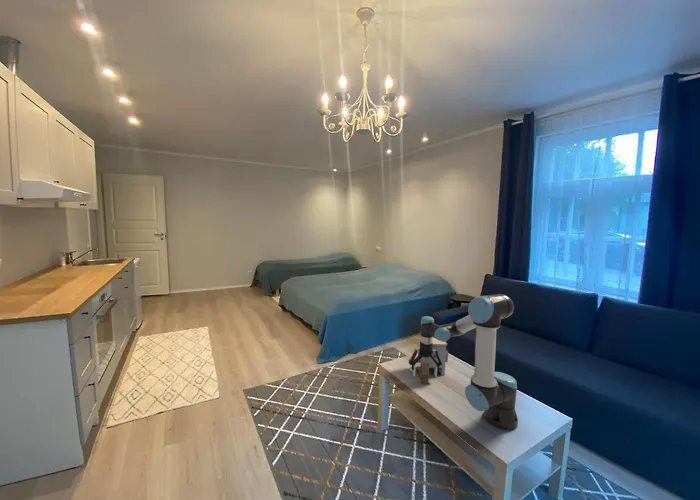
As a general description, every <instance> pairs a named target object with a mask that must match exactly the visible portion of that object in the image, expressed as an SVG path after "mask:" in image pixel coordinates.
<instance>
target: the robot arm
mask: <svg viewBox="0 0 700 500" xmlns="http://www.w3.org/2000/svg"><path fill="white" fill-rule="evenodd" d="M514 310H515V305H514V301H513V300H512V299H511V297H509V296H508V295H506V294H504V293H503V294H502V293H497V294H495V293H494V294H489V295H479V296H476V297H474V298H473V299H471V301H469V304H468V309H467V312H468V314H467V315H466V316H464V317H462V318H460V319H457V320H456V321H454V322H451V323H447V324H441V325H439V324H437V323H435V319H434V318H433V317H432V316H429V315H425V316H422V317H421V318H420V319H421V320H420V331H419V332H420V333H419V334H420V336H419V348H418V349H419V350H418V349H417V348H414V351H413V353H412V355H411V357H410V359H409V360H408V364H409V366H411V367H412V368H411V369H412V371H413V373H412V375H413V377H416V373H415V367H416V365H417V363H418V362H420V361H419V360H420V359H421V358H422V357H431V359H432V360H433V361H434V362H435V368H434V373H433V374H434V377H435V378H437V377H438V372H439V367H440V365H442V363H441V360H440V358H439V356H438V351H437V350H436V349H435V350H432V349H433V337H434V338H436V339H437V340H439V341H442V342H446V343H447V341H449V340H450V338H452V337H458V336H459V337H460V336H462V335H465V334H466V333H468V332H469V331H471V330H473V329H475V349H474V350H475V351H474V374H472V375H470V384H468V385H467V386H466V387H465V388H464V395H465V398H466V400H467V401H468V404H469V405H470V406H471V407H472V408H473V409H475V410H476V411H479V412H483V411H484V412H483V416H484V418H485V420H486V421H487V422H488V423H489V424H491V425H492V426H493V427H496V428H499V429H502V430H510V431H511V430H515V429H517V427H518V425H519V417H518V415H517V411H516V400H517V390H518V386H517V385H518V384H517V379H515V378H514V377H513V376H511V375H509V374H507V373H504V372H501V371H495V366H496V365H495V364H496V345H497V343H496V342H497V330H499V328H501V322H502V321H501V320H503V319H507V318H508V317H510V316H511V315H513V313H514ZM418 352H419V355H418ZM433 352H434V354H435V355H436V357H437V359H438V361H439V363H438V362H437V361H436V360H435V359H434V357H433V356H432V355H431V354H432V353H433Z"/></svg>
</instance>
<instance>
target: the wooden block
mask: <svg viewBox="0 0 700 500" xmlns="http://www.w3.org/2000/svg"><path fill="white" fill-rule="evenodd" d="M416 368H417V369H418V370H417V373H418V375H419V378H420V379H419V380H420V382H421V384H423V385H424V384H427V385H428V384H429V383H430V381H429V379H430V378H429V377H430V368H429V363H428V362H421V366H420V365H419V366H418V365H417V366H416Z"/></svg>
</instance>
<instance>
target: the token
mask: <svg viewBox="0 0 700 500" xmlns="http://www.w3.org/2000/svg"><path fill="white" fill-rule="evenodd" d="M411 368H412V366H410V367H409V372H410V373H412V374H413V371H412V369H411ZM417 370H418V369H417V366H415V374H417V373H418V371H417Z"/></svg>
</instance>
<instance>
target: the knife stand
mask: <svg viewBox="0 0 700 500" xmlns="http://www.w3.org/2000/svg"><path fill="white" fill-rule="evenodd" d="M419 349H420V348H418V349H417V350H419ZM418 355H419V352H418V354H417V356H418ZM448 360H449V351H448V349H446V359H445V363H446V362H448ZM420 361H421V359H420V360H419V361H418V362H420Z"/></svg>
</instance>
